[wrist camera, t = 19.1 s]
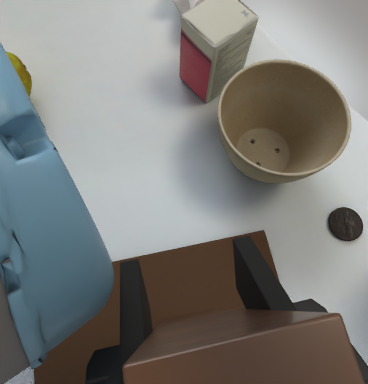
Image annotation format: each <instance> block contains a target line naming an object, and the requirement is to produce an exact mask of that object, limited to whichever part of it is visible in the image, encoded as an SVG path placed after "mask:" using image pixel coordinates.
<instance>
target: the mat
mask: <svg viewBox="0 0 368 384" xmlns="http://www.w3.org/2000/svg"><path fill="white" fill-rule="evenodd" d="M249 235H250V237H251V238H252V240H253V241H254V243H255V245H256V246H257V248H258V249H259V251H260V252H261V254H262V256H263V257H264V259H265V260H266V262H267V263H268V265H269V267H270V268H271V270H272V271H273V273H274V274H275V276H276V278H277V279H278V276H277V272H276V269H275V265H274V262H273V259H272V255H271V252H270V249H269V245H268V242H267V238H266V235H265V232H264V230H263V231H258V232H253V233H248V234H244V235H239V236H234V237H229V238H224V239H220V240H215V241H210V242H205V243H201V244H196V245H191V246H186V247H182V248H177V249H172V250H167V251H162V252H158V253H153V254H148V255H143V256H139V257H134V258H129V259H124V260H120V261H115V262H112V265H113V270H114V283H113V288H112V292H111V294H110V297H109V299H108V301H107V303H106V304H105V306H104V307H103V309H102V310H101V311H100V312H99V313H98V314H97V315H96V316H95V317H93V318H92V319H91V320H89V321H88V322H87V323H86V324H84V325H83V326H82V327H80V328H79V329H78V330H76V331H75V332H74V333H73V334H71V335H70V336H69V337H67V338H66V339H65V340H64V341H62V342H61V343H60V344H58V345H57V346H56V347H54V348H53V349H52V350H51V351H49V352H48V355H47V357H46V360H45V361H44V362H43V363H42V364H41V365H40V366H38V367H37V368H35V369H34V378H35V384H85V379H86V369H87V364H88V362H89V360H90V359H91V357H92V355H93V353H94V351H95V350H98V349H103V348H107V347H111V346H115V345H120V263H121V262H126V261H130V260H135V259H139V263H140V267H141V271H142V275H143V280H144V284H145V288H146V292H147V296H148V300H149V305H150V311H151V320H152V330H154V329H155V328H156V326H157V325H158V324H159V323H160V322H161V321H162V320H166V319H170V318H174V317H179V316H183V315H187V314H192V313H196V312H201V311H205V310H209V309H214V308H233V309H245V306H244V304H243V302H242V300H241V297H240V295H239V293H238V291H237V289H236V279H235V266H234V253H233V240H232V239H235V238H240V237H244V236H249ZM278 281H279V279H278Z"/></svg>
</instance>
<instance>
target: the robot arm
mask: <svg viewBox="0 0 368 384" xmlns="http://www.w3.org/2000/svg"><path fill="white" fill-rule="evenodd" d="M232 240H233V253H234V266H235V279H236V289H237V291H238V293H239V295H240V297H241V300H242V302H243V304H244V306H245V309H257V310H281V311H304V312H327V310H326V309H325V308H324V307H323V306H321V305H320V304H318V303H317V302H315V301H314V300H313V299H308V300H304V301H300V302H295V303H292V301H291V300H290V298H289V296H288V295H287V293H286V292H285V290H284V289H283V287H282V285H281V284H280V282H279V281H278V279H277V278H276V276H275V274H274V273H273V271H272V270H271V268H270V267H269V265H268V263H267V262H266V260H265V259H264V257H263V256H262V254H261V252H260V251H259V249H258V248H257V246H256V245H255V243H254V241H253V240H252V238H251V237H250V235H249V236H244V237H240V238H235V239H232ZM113 283H114V270H113V265H112V261H111V259H110V257H109V254H108V251H107V249H106V247H105V245H104V242H103V240H102V238H101V236H100V234H99V232H98V229H97V227H96V225H95V223H94V221H93V219H92V217H91V215H90V213H89V211H88V209H87V207H86V205H85V203H84V201H83V199H82V197H81V195H80V193H79V191H78V189H77V187H76V185H75V183H74V181H73V179H72V178H71V176H70V174H69V172H68V170H67V168H66V166H65V164H64V162H63V161H62V159H61V157H60V155H59V153H58V151H57V149H56V148H55V146H54V144H53V143H52V141H51V140H50V139H49V137H48V135H47V134H46V132H45V126H44V125H43V123H42V121H41V119H40V118H39V116H38V114H37V112H36V110H35V108H34V106H33V104H32V103H31V101H30V99H29V97H28V94H27V92H26V89H25V87H24V85H23V83H22V81H21V80H20V78H19V76H18V74H17V72H16V70H15V68H14V66H13V65H12V63H11V61H10V59H9V57H8V55H7V53H6V52H5V50H4V48H3V46H2V44H1V43H0V384H4V383H5V382H7V381H8V380H10V379H11V378H13V377H14V376H16V375H17V374H19V373H20V372H21V371H23V370H24V369H26V368H27V367H29V366H30V367H31V369H32V370H33V369H35V368H37V367H38V366H40V365H41V364H42V363H43V362H44V361H45V360H46V357H47V355H48V352H49V351H51V350H52V349H53V348H54V347H56V346H57V345H58V344H60V343H61V342H62V341H64V340H65V339H66V338H67V337H69V336H70V335H71V334H73V333H74V332H75V331H76V330H78V329H79V328H80V327H82V326H83V325H84V324H86V323H87V322H88V321H89V320H91V319H92V318H93V317H95V316H96V315H97V314H98V313H99V312H100V311H101V310H102V309H103V307H104V306H105V304H106V303H107V301H108V299H109V297H110V294H111V292H112V288H113ZM152 331H153V330H152V320H151V311H150V305H149V300H148V296H147V292H146V288H145V284H144V280H143V275H142V271H141V267H140V263H139V259H135V260H130V261H126V262H121V263H120V345H115V346H111V347H107V348H103V349H98V350H95V351H94V353H93V355H92V357H91V359H90V360H89V362H88V364H87V369H86V379H85V384H124V380H123V372H122V367H123V365H124V364H125V362H126V361H127V360H128V359H129V358H130V357H131V355H132V354H133V353H134V352H135V351H136V350H137V348H138V347H139V346H140V345H141V344H142V343H143V341H144V340H145V339H146V338H147V337H148V336H149V335H150V333H151V332H152ZM351 345H352V344H351ZM352 348H353V351H354V354H355V357H356V360H357V363H358V366H359V368H360V371H361V374H362V377H363V380H364V383H365V384H368V365H367V364H366V363H365V361H364V360H363V359H362V357H361V356H360V355H359V353H358V352H357V351H356V349H355V348H354V347H353V345H352Z"/></svg>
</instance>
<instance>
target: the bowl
mask: <svg viewBox="0 0 368 384" xmlns="http://www.w3.org/2000/svg"><path fill="white" fill-rule="evenodd" d="M218 127H219V133H220V137H221V141H222V144H223V147H224V149H225V151H226V153H227V155H228V157H229V158H230V160H231V161H232V163H233V164H234V165H235V166H236V167H237V168H238V169H239V170H240V171H241V172H242V173H244V174H245V175H247V176H248V177H250V178H252V179H255V180H258V181H261V182H266V183H286V182H291V181H296V180H299V179H302V178H305V177H308V176H310V175H312V174H314V173H316V172H318V171H320V170H322V169H324V168H325V167H327V166H328V165H330V164H331V163H332V162H334V161H335V160H336V159H337V158H338V157H339V156H340V154H341V153H342V152H343V150H344V149H345V147H346V145H347V143H348V140H349V137H350V132H351V116H350V111H349V108H348V105H347V102H346V100H345V98H344V96H343V95H342V93H341V92H340V90H339V89H338V88H337V87H336V85H335V84H334V83H333V82H332V81H331V80H330V79H329V78H327V77H326V76H325V75H323V74H322V73H320V72H319V71H317V70H316V69H313V68H311V67H309V66H307V65H305V64H301V63H298V62H295V61H289V60H266V61H261V62H257V63H254V64H251V65H249V66H247V67H245V68H243V69H242V70H240V71H239V72H237V73H236V74H235V75H234V76H233V77H232V78H231V79H230V80H229V81H228V82H227V84H226V85H225V87H224V88H223V90H222V93H221V95H220V98H219V103H218ZM251 142H253V144H252V143H251ZM275 149H278V151H276V150H275ZM258 164H260V166H258Z"/></svg>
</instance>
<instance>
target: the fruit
mask: <svg viewBox="0 0 368 384" xmlns="http://www.w3.org/2000/svg"><path fill="white" fill-rule="evenodd" d="M5 52H6V51H5ZM6 53H7V55H8V57H9V59H10V61H11V63H12V65H13V66H14V68H15V70H16V72H17V74H18V76H19V78H20V80H21V81H22V83H23V85H24V87H25V89H26V92H27V94H28V97H29V96H30V92H31V87H32V81H31V76H30V74H29V72H28V71H27V70H26V68H25V65H23V63H22V61H21V60H20V59H19V58H18V57H17V56H15V55H14V54H12V53H9V52H6Z"/></svg>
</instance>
